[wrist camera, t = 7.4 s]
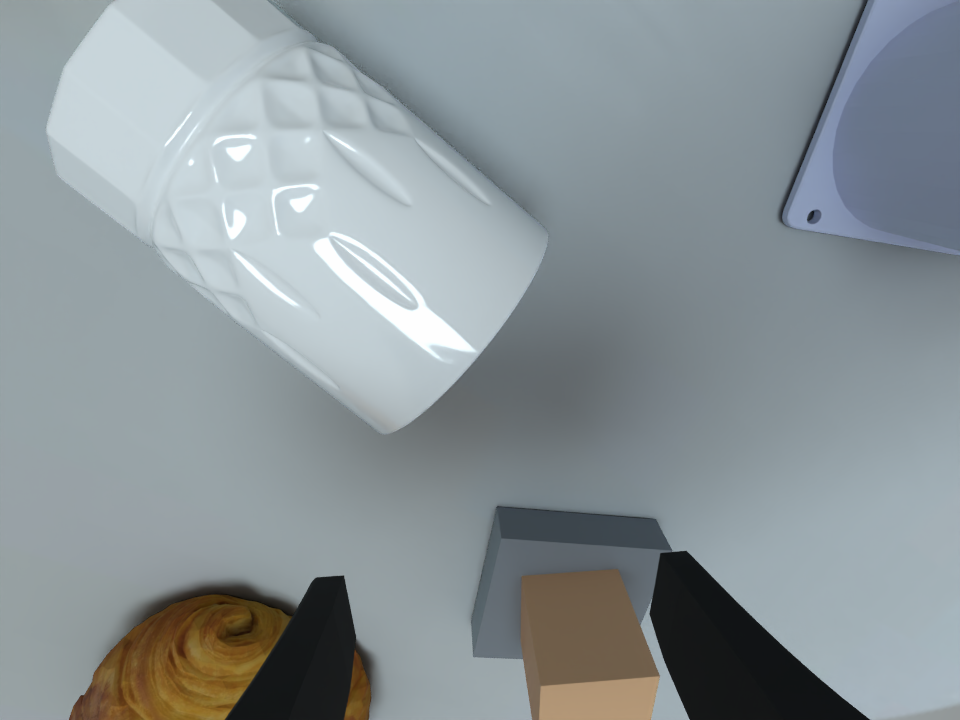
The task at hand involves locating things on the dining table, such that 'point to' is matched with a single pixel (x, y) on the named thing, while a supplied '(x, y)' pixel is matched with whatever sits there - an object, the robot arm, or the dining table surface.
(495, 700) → the dining table surface
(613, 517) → the slate coaster
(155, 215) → the white cup
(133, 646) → the croissant
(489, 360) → the dining table surface
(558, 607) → the tan rectangular block
